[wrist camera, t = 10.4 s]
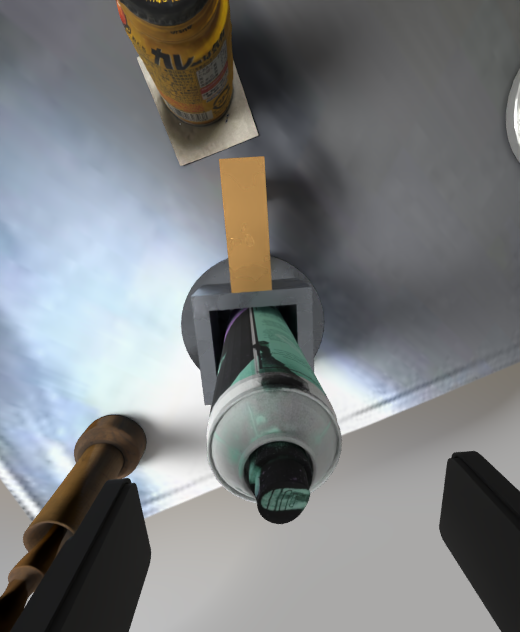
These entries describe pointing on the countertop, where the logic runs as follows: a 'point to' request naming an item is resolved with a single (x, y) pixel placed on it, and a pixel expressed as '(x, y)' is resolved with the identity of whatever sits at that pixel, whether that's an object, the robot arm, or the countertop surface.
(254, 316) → the spray can
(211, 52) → the condiment
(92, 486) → the brown wooden tall piece
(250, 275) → the grey square saucepan
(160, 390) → the countertop surface
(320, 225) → the countertop surface
